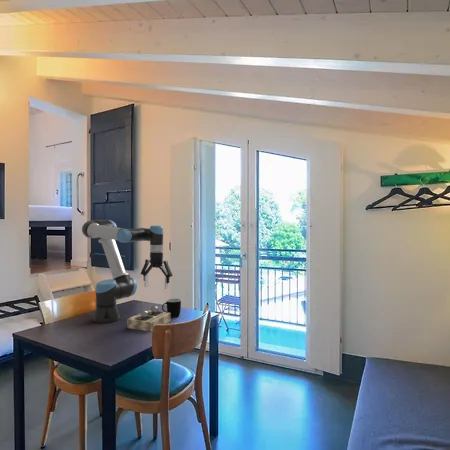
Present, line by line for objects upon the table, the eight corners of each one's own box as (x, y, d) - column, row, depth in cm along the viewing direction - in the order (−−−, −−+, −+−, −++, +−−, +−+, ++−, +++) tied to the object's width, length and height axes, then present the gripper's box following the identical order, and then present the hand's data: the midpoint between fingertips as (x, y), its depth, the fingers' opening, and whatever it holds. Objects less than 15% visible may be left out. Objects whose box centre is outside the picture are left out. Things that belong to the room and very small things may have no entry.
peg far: (150, 315, 207) (150, 307, 207) (153, 313, 211) (153, 305, 210) (155, 316, 206) (155, 308, 206) (158, 314, 209) (158, 306, 209)
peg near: (139, 320, 198) (139, 311, 198) (143, 318, 201) (143, 310, 201) (144, 320, 197) (144, 312, 197) (148, 319, 200) (148, 310, 200)
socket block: (127, 327, 198) (127, 318, 198) (148, 318, 216) (148, 309, 216) (150, 331, 192) (150, 321, 191) (170, 321, 210) (170, 312, 210)
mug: (182, 314, 224) (182, 298, 224) (179, 318, 215) (179, 302, 215) (164, 313, 225) (164, 298, 225) (160, 318, 216) (159, 301, 216)
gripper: (134, 251, 208) (134, 286, 209) (172, 253, 199) (171, 290, 200) (141, 249, 215) (141, 284, 216) (178, 252, 206) (178, 288, 207)
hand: (156, 287), depth 208 cm, fingers open, 13 cm apart
